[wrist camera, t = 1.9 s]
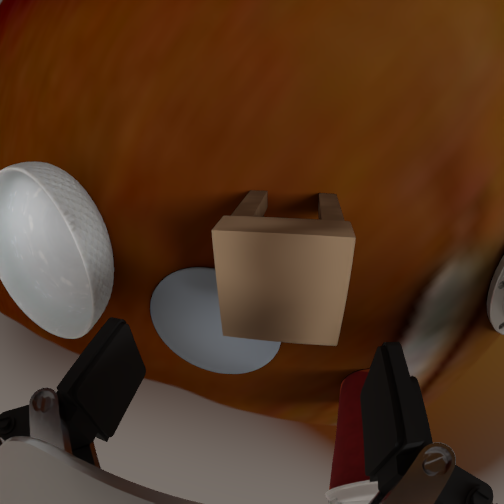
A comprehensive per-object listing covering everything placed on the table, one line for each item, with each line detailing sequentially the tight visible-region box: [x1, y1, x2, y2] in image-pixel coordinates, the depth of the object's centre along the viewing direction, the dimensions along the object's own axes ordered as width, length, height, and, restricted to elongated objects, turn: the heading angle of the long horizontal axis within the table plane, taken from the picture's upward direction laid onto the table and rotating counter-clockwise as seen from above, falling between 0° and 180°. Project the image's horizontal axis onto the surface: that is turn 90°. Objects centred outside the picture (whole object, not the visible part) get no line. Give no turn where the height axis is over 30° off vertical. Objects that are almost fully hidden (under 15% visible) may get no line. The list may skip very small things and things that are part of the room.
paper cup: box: [325, 369, 379, 504], centre depth 21 cm, size 8×8×14 cm
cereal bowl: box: [0, 162, 114, 339], centre depth 22 cm, size 17×17×7 cm
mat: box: [150, 267, 281, 374], centre depth 26 cm, size 13×13×1 cm
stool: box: [212, 191, 356, 346], centre depth 17 cm, size 6×6×8 cm
